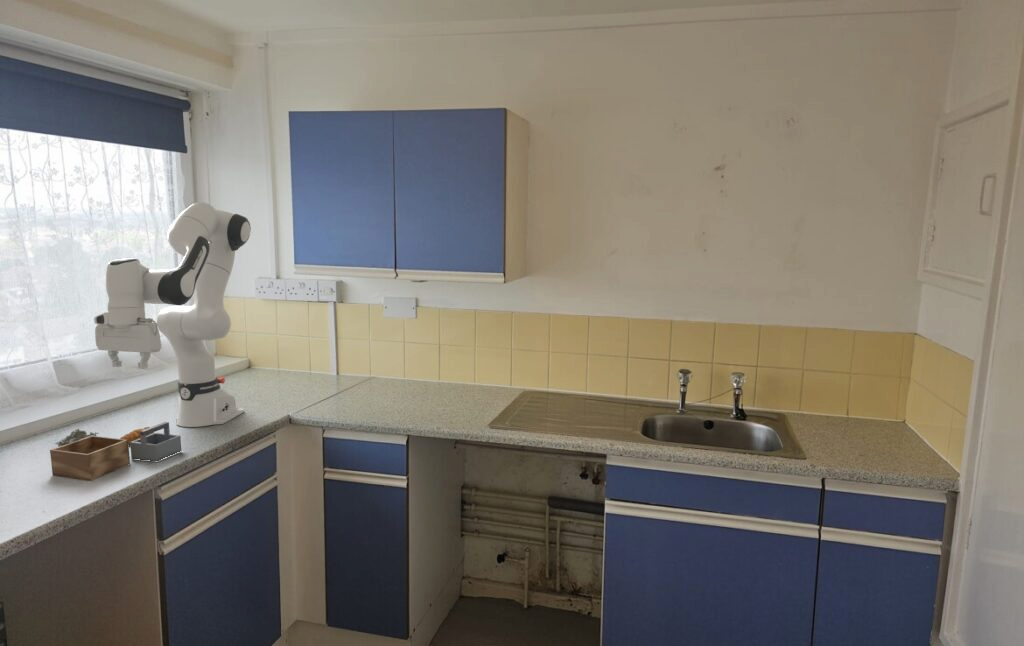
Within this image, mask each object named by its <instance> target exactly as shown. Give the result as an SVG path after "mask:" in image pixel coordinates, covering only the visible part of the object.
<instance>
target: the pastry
mask: <svg viewBox="0 0 1024 646" xmlns="http://www.w3.org/2000/svg"><path fill="white" fill-rule="evenodd" d="M147 428H150V426H147V427H144V428H138V429H134V430H132V431H130V432H129V433H126V434H125V435H123V436H121V437H120V438H119V439H125V440H128V445H129V446H130V442H132V441H135V440H137V439H140V431H142V430H144V429H147ZM153 433H155V432H153ZM153 433H150V434H153ZM150 434H148V435H150ZM148 435H146V436H148Z"/></svg>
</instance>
